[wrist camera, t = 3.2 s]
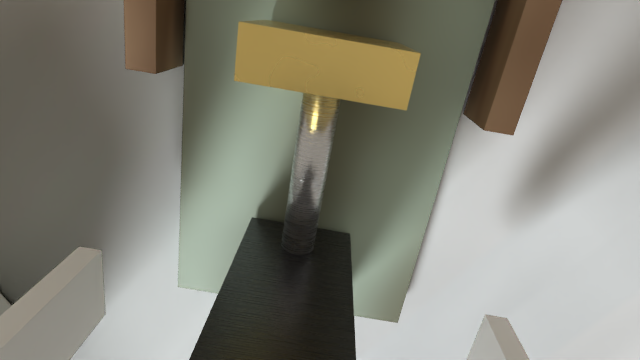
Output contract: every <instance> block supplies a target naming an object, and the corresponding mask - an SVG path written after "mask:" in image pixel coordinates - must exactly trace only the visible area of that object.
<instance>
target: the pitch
mask: <svg viewBox="0 0 640 360" xmlns="http://www.w3.org/2000/svg"><path fill="white" fill-rule="evenodd" d="M561 2H562V0H498V2H497V6H496V9H495V12H494V15H493V19H492V22H491V25H490V29H489V32H488V35H487V38H486V42H485V45H484V48H483V51H482V55H481V58H480V61H479V65H478V68H477V71H476V74H475V78H474V81H473V84H472V87H471V91H470V94H469V97H468V101H467V104H466V107H465V110H464V115H465V116H467V117H468V118H469V119H470V120H472V121H473V122H474V123H475V124H477V125H478V126H479V127H480V128H482V129H483V130H485V131H491V132H497V133H503V134H509V135H514V132H515V129H516V126H517V123H518V121H519V118H520V115H521V112H522V110H523V107H524V104H525V101H526V99H527V96H528V93H529V90H530V88H531V85H532V82H533V79H534V77H535V74H536V71H537V68H538V66H539V63H540V60H541V57H542V54H543V52H544V49H545V46H546V43H547V41H548V38H549V35H550V32H551V30H552V27H553V24H554V21H555V19H556V16H557V13H558V10H559V8H560V5H561ZM494 3H495V0H186V26H185V60H184V94H183V128H182V162H181V196H180V230H179V264H178V287H180V288H187V289H193V290H199V291H205V292H211V293H217V294H218V293H219V291H220V289H221V286H222V284H223V282H224V280H225V277H226V275H227V273H228V270H229V268H230V266H231V264H232V261H233V259H234V257H235V254H236V252H237V250H238V248H239V245H240V243H241V241H242V239H243V236H244V234H245V232H246V229H247V227H248V225H249V223H250V220H251V218H252V217H254V218H260V219H266V220H272V221H278V222H284V221H285V214H286V207H287V200H288V193H289V186H290V179H291V172H292V165H293V158H294V151H295V144H296V138H297V131H298V124H299V117H300V110H301V103H302V96H303V93H302V92H296V91H290V90H285V89H279V88H273V87H267V86H261V85H256V84H250V83H244V82H238V81H234V74H235V61H236V48H237V36H238V23H239V21H254V20H272V21H277V22H283V23H289V24H294V25H300V26H306V27H312V28H317V29H323V30H329V31H334V32H340V33H346V34H352V35H357V36H363V37H369V38H374V39H380V40H386V41H392V42H397V43H400V44H402V45H404V46H406V47H409V48H411V49H413V50H415V51H417V52H419V53H421V55H420V59H419V63H418V67H417V71H416V75H415V79H414V83H413V87H412V91H411V95H410V99H409V103H408V107H407V110H401V109H395V108H389V107H383V106H378V105H372V104H366V103H360V102H354V101H348V100H343V99H341V100H340V106H339V111H338V117H337V122H336V128H335V133H334V139H333V144H332V150H331V155H330V161H329V166H328V172H327V177H326V183H325V188H324V194H323V199H322V205H321V210H320V216H319V221H318V227H317V228H320V229H326V230H332V231H338V232H344V233H350V238H351V261H352V283H353V305H354V316H359V317H365V318H371V319H377V320H384V321H390V322H396V323H398V320H399V316H400V313H401V310H402V306H403V303H404V300H405V297H406V293H407V290H408V287H409V283H410V280H411V277H412V273H413V270H414V267H415V264H416V260H417V257H418V254H419V250H420V247H421V244H422V240H423V237H424V234H425V231H426V227H427V224H428V221H429V217H430V214H431V211H432V207H433V204H434V201H435V198H436V194H437V191H438V188H439V184H440V181H441V178H442V174H443V171H444V168H445V165H446V161H447V158H448V155H449V151H450V148H451V145H452V141H453V138H454V135H455V132H456V128H457V125H458V122H459V118H460V115H461V112H462V108H463V105H464V102H465V99H466V95H467V92H468V89H469V85H470V82H471V79H472V75H473V72H474V69H475V66H476V62H477V59H478V56H479V52H480V49H481V46H482V42H483V39H484V36H485V33H486V29H487V26H488V23H489V19H490V16H491V13H492V9H493V6H494ZM124 29H125V67H126V69H130V70H136V71H142V72H148V73H154V74H157V73H160V72H163V71H167V70H170V69H173V68H176V67H179V66H182V65H183V31H184V0H124Z"/></svg>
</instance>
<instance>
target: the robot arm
mask: <svg viewBox="0 0 640 360" xmlns="http://www.w3.org/2000/svg"><path fill="white" fill-rule="evenodd" d="M105 314H106V312H105V295H104V279H103V262H102V250H97V249H91V248H85V247H78V248H77V249H76V250H75V251H73V252H72V253H71V254H70V255H69V256H68V257H67V258H65V259H64V260H63V261H62V262H61V263H60V264H59V265H58V266H56V267H55V268H54V269H53V270H52V271H51V272H50V273H48V274H47V275H46V276H45V277H44V278H43V279H42V280H40V281H39V282H38V283H37V284H36V285H35V286H34V287H33V288H31V289H30V290H29V291H28V292H27V293H26V294H25V295H23V296H22V297H21V298H20V299H19V300H18V301H17V302H15V303H14V304H13V305H12V306H11V307H10V308H9V309H8V310H6V311H5V312H4V313H3V314H2V315H1V316H0V360H70V359H71V357H72V356H73V355H74V354H75V352H76V351H77V350H78V349H79V347H80V346H81V345H82V343H83V342H84V341H85V340H86V338H87V337H88V336H89V335H90V333H91V332H92V331H93V330H94V328H95V327H96V326H97V325H98V323H99V322H100V321H101V319H102V318H103V317H104V316H105ZM467 360H529V358H528V356H527V354H526V352H525V350H524V349H523V347H522V345H521V343H520V341H519V339H518V337H517V336H516V334H515V332H514V330H513V328H512V326H511V324H510V323H509V321H508V319H507V318H503V317H497V316H491V315H485V316H484V318H483V321H482V323H481V326H480V328H479V331H478V333H477V335H476V338H475V340H474V343H473V345H472V348H471V350H470V353H469V355H468V357H467Z"/></svg>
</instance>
